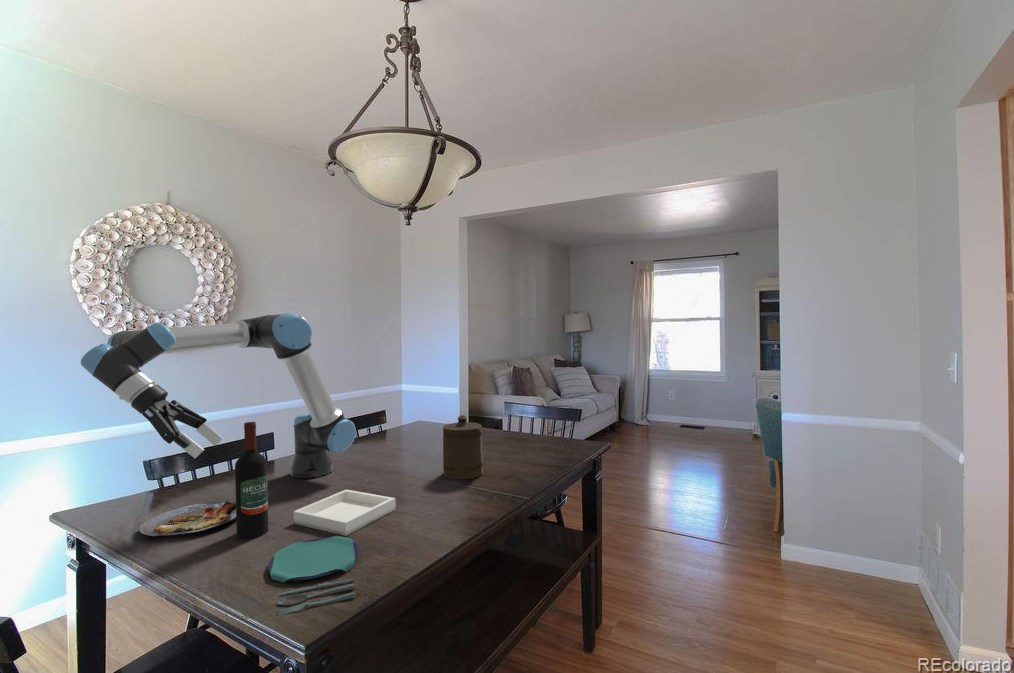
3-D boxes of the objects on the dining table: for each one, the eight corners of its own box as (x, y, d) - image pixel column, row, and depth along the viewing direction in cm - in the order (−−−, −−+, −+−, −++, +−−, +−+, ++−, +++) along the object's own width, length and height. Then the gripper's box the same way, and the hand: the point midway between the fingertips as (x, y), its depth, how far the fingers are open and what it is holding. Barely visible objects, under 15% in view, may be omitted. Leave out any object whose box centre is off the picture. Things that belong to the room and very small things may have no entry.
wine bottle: (263, 525, 133) (260, 419, 133) (272, 532, 128) (269, 422, 127) (233, 533, 128) (230, 423, 127) (241, 541, 122) (238, 426, 122)
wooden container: (473, 466, 188) (472, 411, 187) (489, 476, 174) (488, 416, 174) (438, 471, 181) (437, 414, 181) (451, 482, 168) (450, 420, 167)
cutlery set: (357, 538, 123) (356, 529, 123) (365, 601, 95) (364, 589, 95) (273, 553, 116) (272, 544, 116) (255, 625, 88) (254, 613, 88)
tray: (293, 523, 134) (293, 511, 133) (346, 500, 151) (346, 489, 151) (346, 535, 125) (346, 522, 125) (395, 509, 143) (395, 498, 143)
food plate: (257, 504, 149) (256, 493, 149) (226, 536, 126) (225, 523, 126) (169, 513, 145) (169, 501, 145) (122, 548, 122) (121, 534, 122)
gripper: (155, 398, 133) (216, 447, 136) (102, 412, 108) (177, 471, 112) (176, 378, 134) (236, 427, 137) (128, 388, 110) (202, 448, 113)
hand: (210, 447), depth 125 cm, fingers open, 13 cm apart
